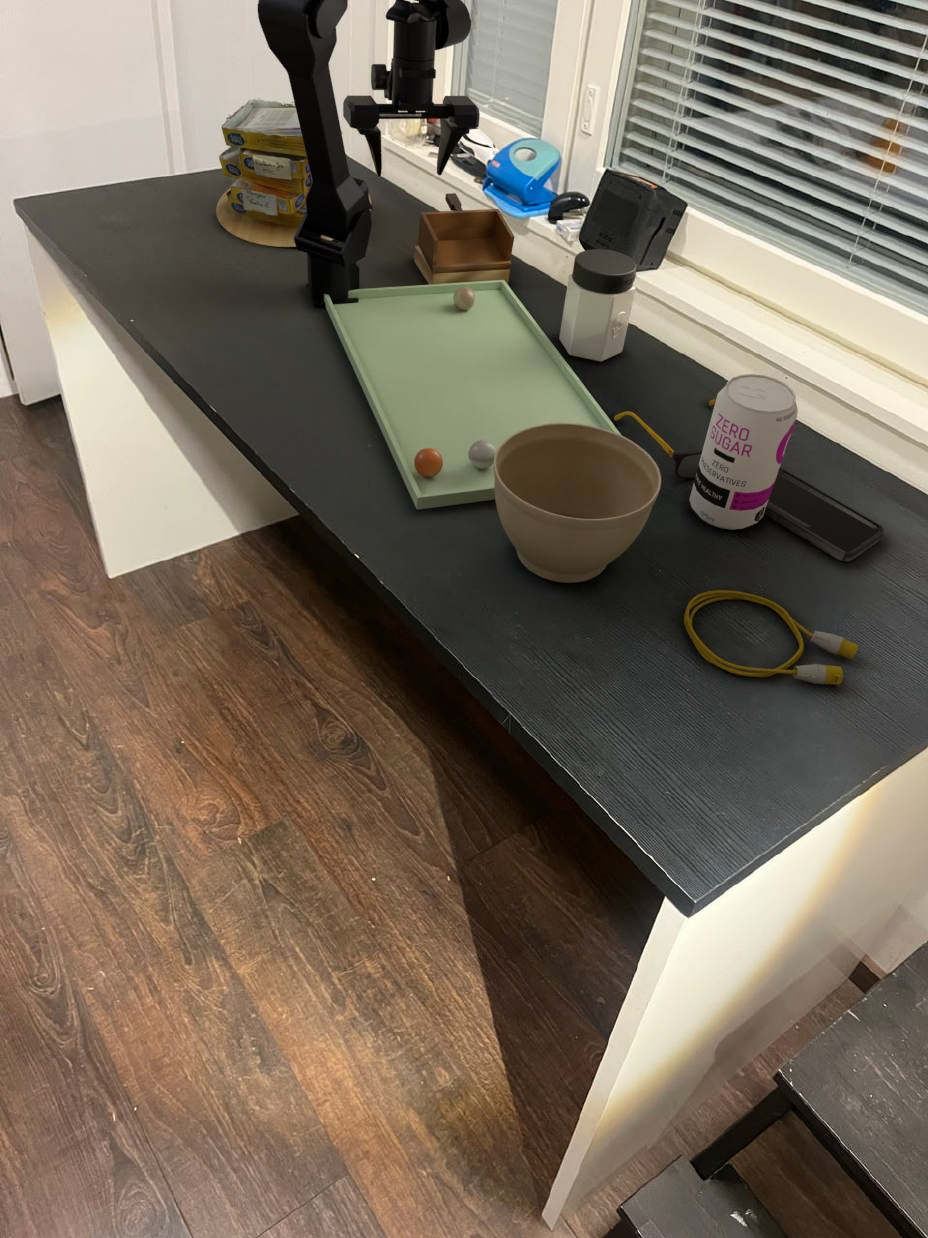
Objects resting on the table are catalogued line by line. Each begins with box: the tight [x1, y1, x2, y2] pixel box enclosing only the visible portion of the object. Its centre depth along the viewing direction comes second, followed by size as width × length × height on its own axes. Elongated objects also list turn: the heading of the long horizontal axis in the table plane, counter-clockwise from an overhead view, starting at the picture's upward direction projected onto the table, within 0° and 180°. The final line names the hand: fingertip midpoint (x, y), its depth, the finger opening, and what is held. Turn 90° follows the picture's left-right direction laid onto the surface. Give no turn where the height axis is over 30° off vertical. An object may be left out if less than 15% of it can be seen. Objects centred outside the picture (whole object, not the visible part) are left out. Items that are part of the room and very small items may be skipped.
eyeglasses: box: [613, 397, 717, 480], centre depth 114 cm, size 14×14×4 cm
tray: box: [324, 280, 623, 510], centre depth 122 cm, size 27×49×2 cm, turn 18°
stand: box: [413, 245, 511, 286], centre depth 145 cm, size 12×10×2 cm
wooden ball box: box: [417, 192, 516, 274], centre depth 142 cm, size 12×13×5 cm
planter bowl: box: [493, 423, 662, 584], centre depth 95 cm, size 16×16×11 cm
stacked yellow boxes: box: [215, 97, 372, 248], centre depth 150 cm, size 25×25×17 cm
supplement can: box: [688, 373, 799, 530], centre depth 101 cm, size 8×8×15 cm
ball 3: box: [468, 440, 496, 469], centre depth 107 cm, size 3×3×3 cm
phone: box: [764, 467, 885, 563], centre depth 106 cm, size 8×1×15 cm
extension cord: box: [683, 589, 859, 686], centre depth 90 cm, size 12×16×2 cm
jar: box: [558, 248, 638, 363], centre depth 128 cm, size 9×8×12 cm
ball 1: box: [414, 448, 443, 477], centre depth 105 cm, size 3×3×3 cm
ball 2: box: [453, 286, 476, 310], centre depth 135 cm, size 3×3×3 cm
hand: (409, 174), depth 141 cm, fingers open, 9 cm apart
